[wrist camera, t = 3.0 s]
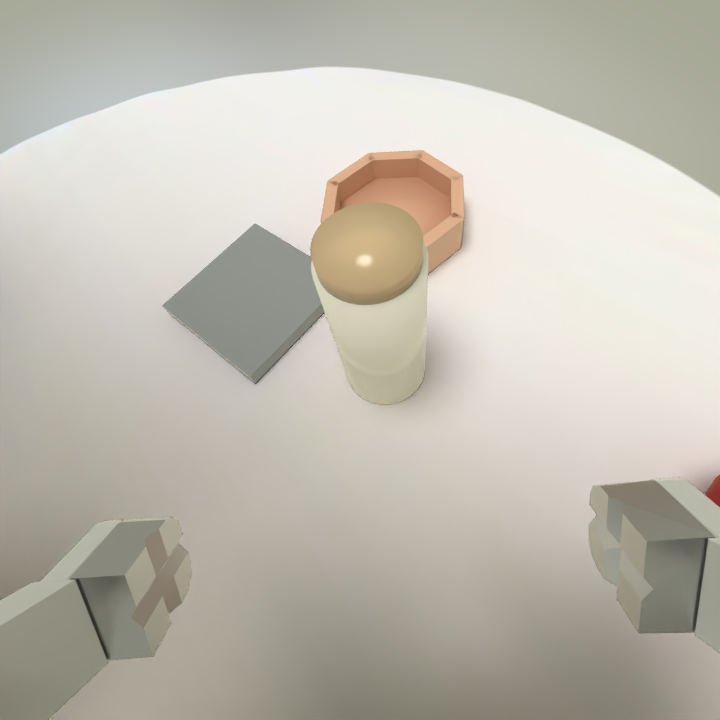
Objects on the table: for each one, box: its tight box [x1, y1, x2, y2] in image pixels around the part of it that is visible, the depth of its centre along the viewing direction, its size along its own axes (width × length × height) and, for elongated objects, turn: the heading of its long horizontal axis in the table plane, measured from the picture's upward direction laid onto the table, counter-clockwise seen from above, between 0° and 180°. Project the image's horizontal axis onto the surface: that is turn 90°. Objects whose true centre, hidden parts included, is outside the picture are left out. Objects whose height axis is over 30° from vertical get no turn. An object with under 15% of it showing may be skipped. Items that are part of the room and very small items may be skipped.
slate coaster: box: [163, 224, 324, 384], centre depth 30 cm, size 9×9×1 cm
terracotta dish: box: [321, 150, 464, 274], centre depth 30 cm, size 9×9×3 cm
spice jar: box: [310, 202, 428, 405], centre depth 22 cm, size 5×5×11 cm
